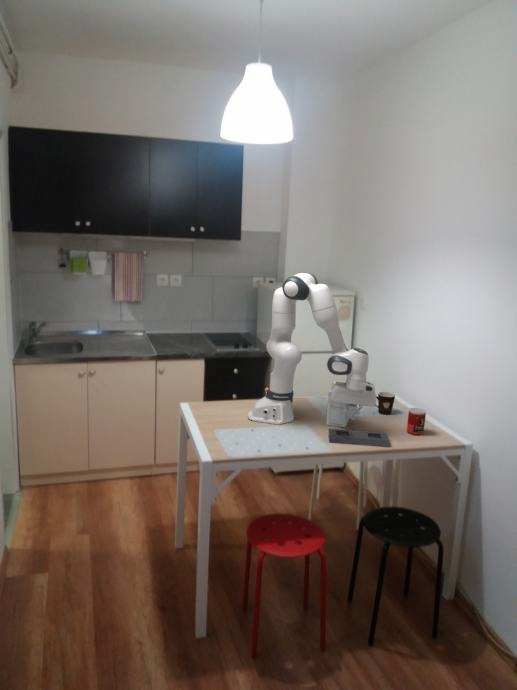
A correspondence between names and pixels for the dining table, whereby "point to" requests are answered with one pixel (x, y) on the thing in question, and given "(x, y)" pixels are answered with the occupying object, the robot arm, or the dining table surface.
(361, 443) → the grey slotted base block
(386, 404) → the coffee mug
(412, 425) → the canned food
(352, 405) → the nut block
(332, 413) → the supplement box
